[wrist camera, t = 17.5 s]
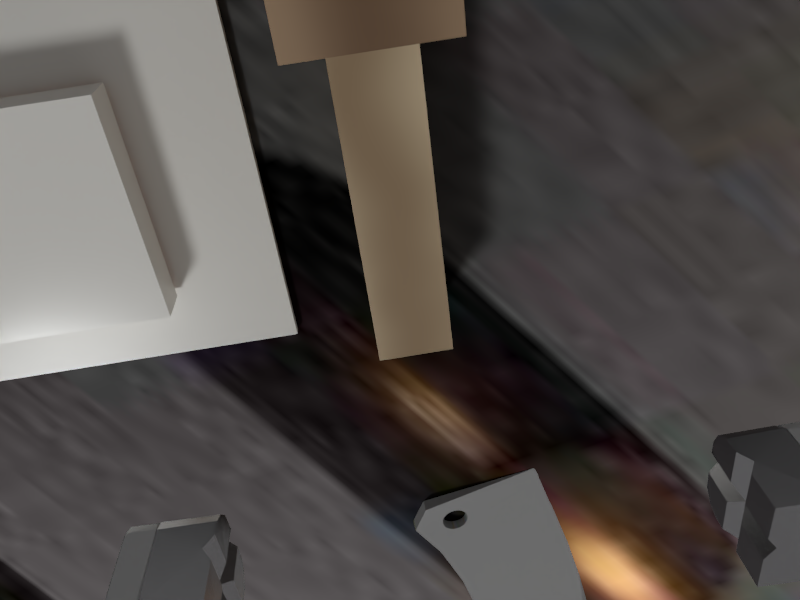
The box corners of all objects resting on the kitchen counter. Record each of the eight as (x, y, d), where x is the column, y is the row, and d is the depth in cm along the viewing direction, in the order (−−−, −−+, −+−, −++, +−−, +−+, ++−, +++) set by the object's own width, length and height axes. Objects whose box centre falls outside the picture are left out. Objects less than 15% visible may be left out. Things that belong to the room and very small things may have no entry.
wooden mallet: (432, -149, 23) (452, -151, 20) (471, 292, 32) (489, 342, 29) (250, -121, 23) (238, -118, 19) (340, 313, 32) (343, 366, 29)
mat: (201, -64, 24) (199, -62, 23) (297, 328, 32) (297, 333, 32) (-281, 8, 23) (-290, 10, 23) (-55, 384, 32) (-59, 390, 31)
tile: (178, 292, 30) (105, 79, 25) (170, 316, 28) (90, 94, 24) (14, 318, 30) (-91, 109, 25) (-4, 344, 28) (-119, 126, 23)
